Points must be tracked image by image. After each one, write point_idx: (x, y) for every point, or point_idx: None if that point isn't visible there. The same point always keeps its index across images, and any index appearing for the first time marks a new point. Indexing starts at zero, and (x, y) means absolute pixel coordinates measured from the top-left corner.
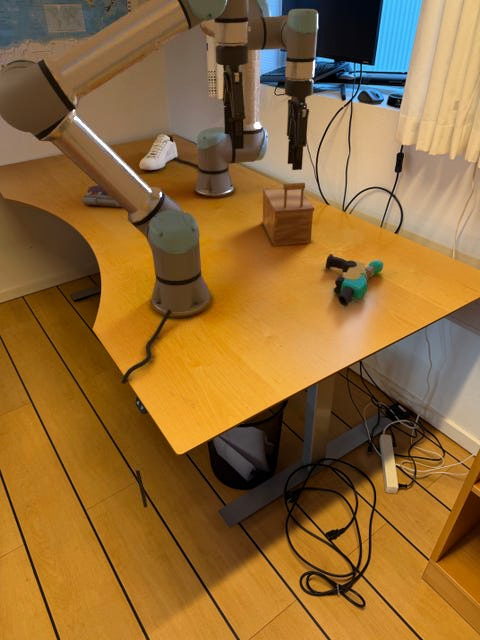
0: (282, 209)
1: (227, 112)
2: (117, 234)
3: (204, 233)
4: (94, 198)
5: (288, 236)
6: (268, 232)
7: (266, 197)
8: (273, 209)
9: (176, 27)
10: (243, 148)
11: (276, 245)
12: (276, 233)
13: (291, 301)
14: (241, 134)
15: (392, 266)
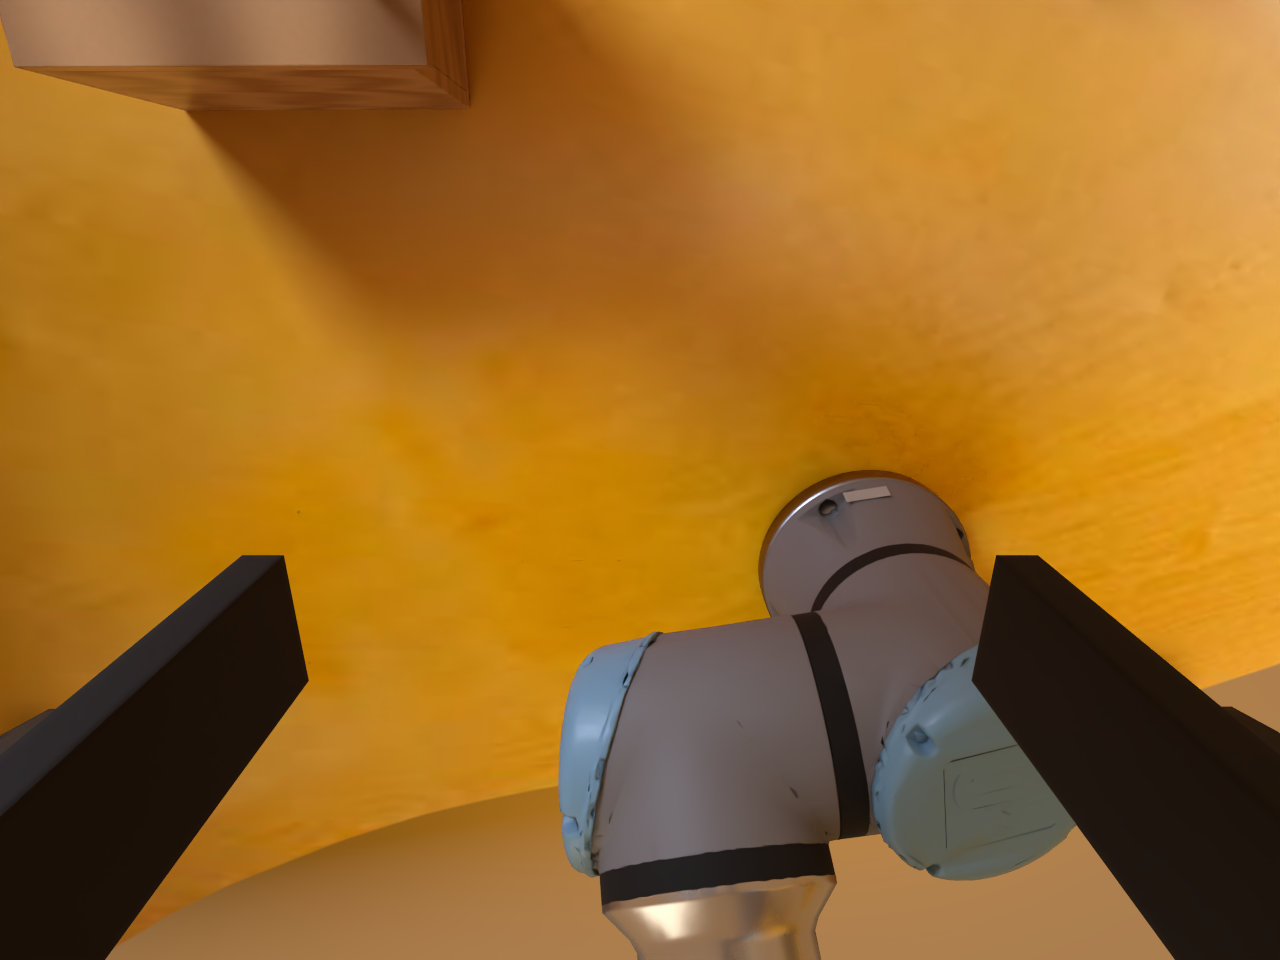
0: (402, 2)
1: (91, 906)
2: (314, 758)
3: (312, 436)
4: None
5: (450, 3)
6: (334, 107)
7: (147, 70)
8: (371, 68)
9: None
10: (1035, 558)
11: (468, 91)
12: (451, 80)
13: (985, 148)
14: (1246, 718)
15: None
